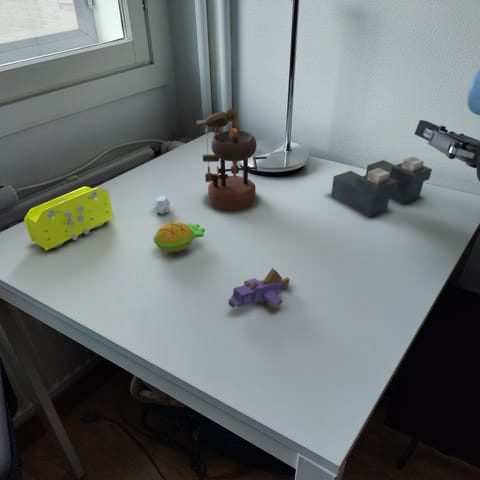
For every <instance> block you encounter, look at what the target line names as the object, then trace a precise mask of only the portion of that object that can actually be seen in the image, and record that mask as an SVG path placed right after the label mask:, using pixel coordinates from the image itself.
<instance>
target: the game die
mask: <svg viewBox="0 0 480 480" xmlns="http://www.w3.org/2000/svg"><path fill="white" fill-rule="evenodd" d="M152 208H153V209H154V211H155V212H156V213H158V214H160V215H164V214H166V213H169V210H170V209H171V202H170V200H169V199H168V198H167V197H166V196H162V195H161V196H157V197H155V199H154V200H153V204H152Z"/></svg>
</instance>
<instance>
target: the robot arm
mask: <svg viewBox="0 0 480 480" xmlns="http://www.w3.org/2000/svg"><path fill="white" fill-rule="evenodd" d="M467 108H468V110H469V111H470V112H471V113H473V114H475V115H477V116H480V68H479V69H478V70H477V72H476V73H475V75H474V76H473V78H472V80H471V83H470V85H469V88H468V91H467ZM414 135H415V136H417V137H419V138H421V139H423V140H425V141H428V142H427V145H429V146H431V147H432V148H434V149H436V150H438V151H439V152H441V153H442V154H444V155H445V156H446V157H447V158H448V159H449V160H455V159H457V160H459V161H461V162H463V163H465V165H466V166H468V167H470V168H473V169H476V177H477V179H478V181H479V182H480V139H476V138H474V137H471V136H469V135H466V134H464V133H456V132H455V131H452V130H451V131H449V130H448V129H447V126H445V125H437V124H435V123H432V122H430V121H427V120H425V119H424V120H423V119H419V121H418V124H417V125H416V129H415V131H414Z"/></svg>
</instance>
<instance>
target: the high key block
mask: <svg viewBox="0 0 480 480" xmlns="http://www.w3.org/2000/svg"><path fill="white" fill-rule="evenodd" d="M367 177H368V175H366V174H365V175H360V174H359V173H357V172H355V171H353V170H349V171H345V172H342V173H340V174H336V175H333V179H332V186H331V194H330V196H331V197H333V198H334V199H336V200H338V201H339V202H341V203H343V204H345V205H347V206H349V207H350V208H352V209H353V210H356V211H357V212H358V213H361V214H362V215H364V216H366V217H368V218H373V217H374V216H376V215H379V214H382V213H385V212H387V210H388V207H389V203H390V199H391V198H390V194H391V193H393V192H396V189H397V185H398V181H397V180H395V179H393V178H391V177H389V178H388V181H387V182H385V183H382V184H379V185H377V184H375V183H373V182H371V181H369V180H367Z"/></svg>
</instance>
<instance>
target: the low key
mask: <svg viewBox="0 0 480 480" xmlns="http://www.w3.org/2000/svg"><path fill="white" fill-rule="evenodd" d="M402 163H403V164H402V168H403V169H406V170H408V171H410V172H412V173H413V172H416V171H419V170H422V167H423V166H424V163H425V161H424V160H423V159H420V158H417V157H415V156H411V157H408V158H404V159H403V160H402Z"/></svg>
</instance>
